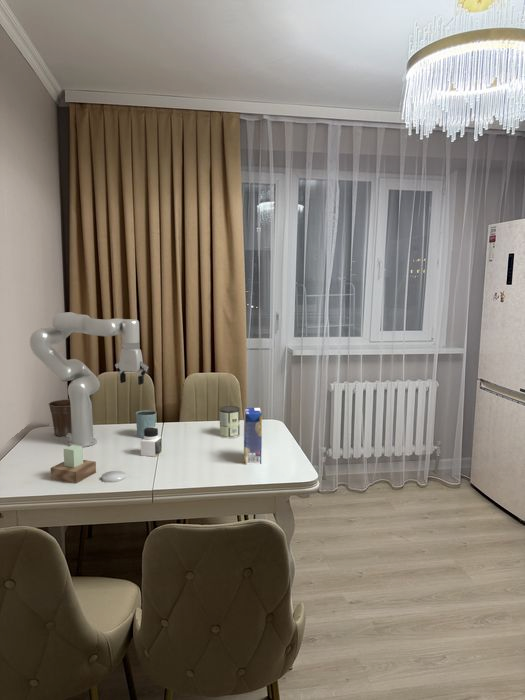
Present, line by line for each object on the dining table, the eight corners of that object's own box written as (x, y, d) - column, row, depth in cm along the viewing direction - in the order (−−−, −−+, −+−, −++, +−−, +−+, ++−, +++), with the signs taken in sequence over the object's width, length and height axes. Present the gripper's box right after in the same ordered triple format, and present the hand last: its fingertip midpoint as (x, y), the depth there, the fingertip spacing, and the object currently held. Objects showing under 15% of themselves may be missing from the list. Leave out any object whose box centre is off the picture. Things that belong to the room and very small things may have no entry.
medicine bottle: (155, 457, 227) (155, 430, 225) (140, 455, 228) (140, 429, 227) (161, 451, 234) (161, 426, 232) (147, 450, 235) (146, 425, 234)
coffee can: (227, 431, 267) (227, 404, 265) (243, 434, 262) (243, 407, 260) (215, 436, 258) (215, 408, 256) (232, 439, 253) (232, 411, 251)
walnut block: (51, 480, 201) (50, 467, 200) (71, 469, 212) (71, 458, 211) (76, 484, 197) (76, 471, 196) (96, 473, 208) (95, 461, 207)
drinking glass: (132, 435, 257) (131, 412, 255) (148, 431, 265) (148, 409, 263) (144, 440, 250) (143, 416, 249) (160, 435, 258) (160, 412, 256)
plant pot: (47, 431, 263) (46, 400, 261) (80, 427, 271) (79, 397, 269) (52, 440, 249) (51, 407, 247) (87, 435, 257) (86, 404, 255)
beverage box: (258, 455, 231) (259, 407, 228) (261, 464, 220) (261, 414, 217) (243, 455, 230) (244, 407, 227) (245, 464, 219) (245, 414, 216)
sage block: (64, 465, 202) (63, 448, 201) (73, 461, 207) (72, 444, 206) (74, 467, 201) (73, 450, 200) (83, 463, 205) (82, 446, 204)
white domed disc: (97, 481, 199) (97, 478, 199) (109, 473, 208) (109, 469, 208) (118, 484, 197) (117, 480, 197) (129, 475, 206) (129, 472, 206)
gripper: (110, 346, 233) (111, 383, 236) (142, 348, 227) (143, 386, 230) (120, 344, 240) (121, 380, 243) (152, 346, 234) (152, 383, 237)
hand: (131, 383), depth 236 cm, fingers open, 9 cm apart
